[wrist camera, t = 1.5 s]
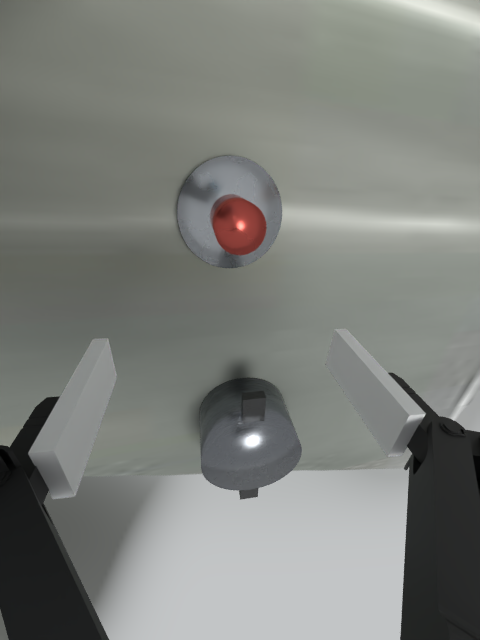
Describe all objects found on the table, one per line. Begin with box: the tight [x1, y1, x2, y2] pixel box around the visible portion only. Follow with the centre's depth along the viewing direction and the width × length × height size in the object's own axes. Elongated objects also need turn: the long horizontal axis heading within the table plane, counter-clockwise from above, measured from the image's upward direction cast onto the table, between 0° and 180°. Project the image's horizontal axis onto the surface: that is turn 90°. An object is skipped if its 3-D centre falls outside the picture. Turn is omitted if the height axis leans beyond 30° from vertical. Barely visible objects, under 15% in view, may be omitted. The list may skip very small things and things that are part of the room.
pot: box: [200, 378, 302, 499], centre depth 41 cm, size 22×14×9 cm, turn 179°
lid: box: [177, 156, 282, 268], centre depth 26 cm, size 11×11×8 cm
